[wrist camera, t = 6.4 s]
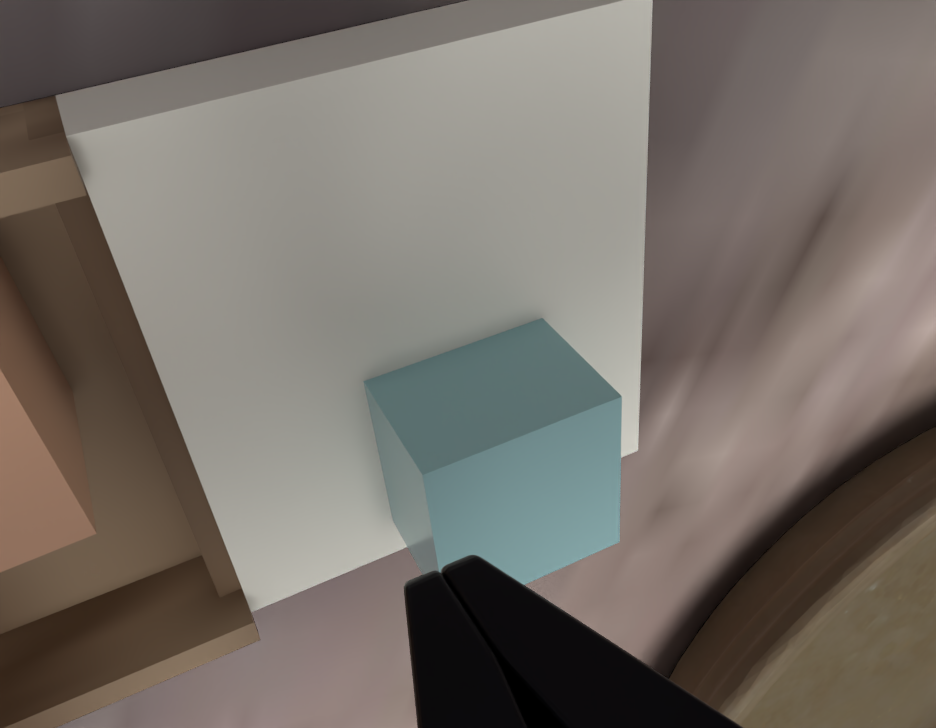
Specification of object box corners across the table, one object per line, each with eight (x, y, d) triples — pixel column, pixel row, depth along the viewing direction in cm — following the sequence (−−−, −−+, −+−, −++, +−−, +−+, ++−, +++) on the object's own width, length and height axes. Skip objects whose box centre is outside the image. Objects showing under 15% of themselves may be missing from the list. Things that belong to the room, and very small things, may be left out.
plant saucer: (1122, 175, 29) (1273, 231, 26) (1144, 535, 50) (1230, 593, 47) (441, 784, 31) (500, 911, 28) (734, 889, 52) (788, 969, 48)
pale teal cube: (542, 318, 18) (621, 396, 16) (549, 457, 21) (619, 542, 19) (363, 381, 17) (422, 475, 15) (392, 520, 20) (447, 619, 17)
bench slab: (593, -29, 17) (653, -7, 16) (595, 406, 24) (637, 450, 22) (55, 95, 14) (65, 136, 13) (231, 550, 21) (251, 612, 19)
